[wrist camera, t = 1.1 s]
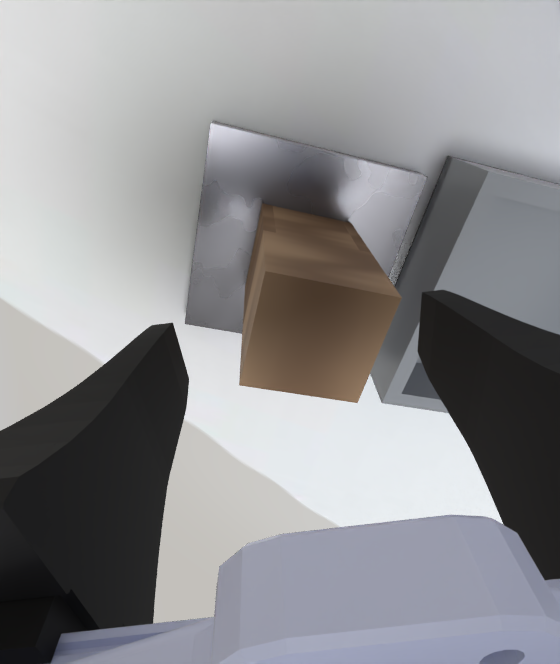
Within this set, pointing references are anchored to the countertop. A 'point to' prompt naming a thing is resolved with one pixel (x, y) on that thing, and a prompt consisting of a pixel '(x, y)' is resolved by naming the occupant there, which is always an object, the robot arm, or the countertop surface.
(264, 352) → the walnut strut
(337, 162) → the stud plate
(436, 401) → the charcoal bin
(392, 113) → the countertop surface
